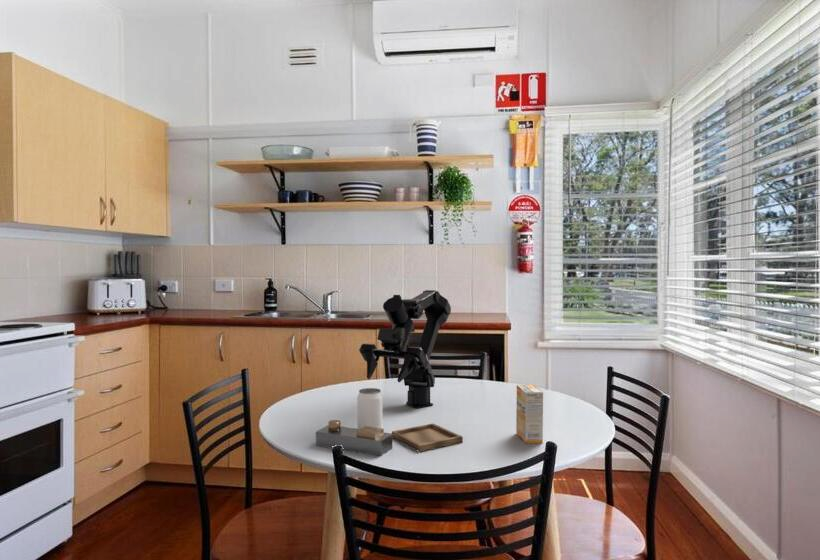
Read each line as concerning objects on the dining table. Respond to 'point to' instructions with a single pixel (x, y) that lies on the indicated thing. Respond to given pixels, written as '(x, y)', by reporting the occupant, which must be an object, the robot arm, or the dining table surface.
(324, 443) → the iron block
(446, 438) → the walnut tray
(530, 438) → the supplement box
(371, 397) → the can
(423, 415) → the dining table surface
